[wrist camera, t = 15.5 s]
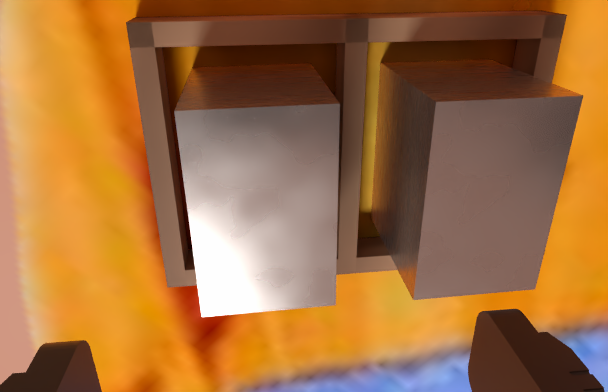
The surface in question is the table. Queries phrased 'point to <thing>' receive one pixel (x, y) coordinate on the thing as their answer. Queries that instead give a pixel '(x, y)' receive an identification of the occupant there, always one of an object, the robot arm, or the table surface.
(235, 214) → the block
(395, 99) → the seated billet
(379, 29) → the frame
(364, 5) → the table surface
